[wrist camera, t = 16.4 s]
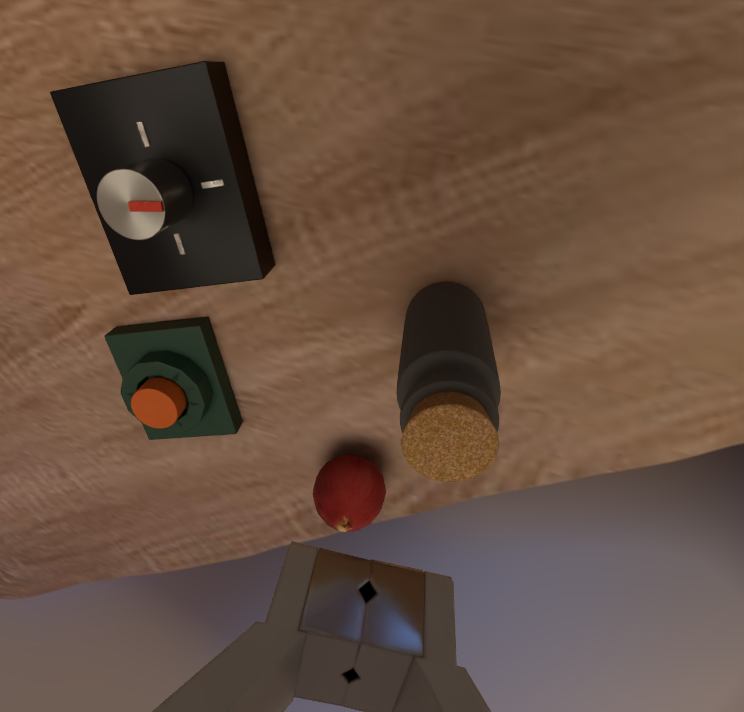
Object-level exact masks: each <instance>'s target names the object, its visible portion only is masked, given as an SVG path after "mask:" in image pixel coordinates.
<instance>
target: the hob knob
mask: <svg viewBox="0 0 744 712" xmlns="http://www.w3.org/2000/svg"><path fill="white" fill-rule="evenodd" d="M97 203H98V207H99V210H100V212H101V215H102V216H103V218H104V220H105V221H106V222H107V224H108V225H109V226H110V227H111V228H112V229H113V230H114V231H116V232H117V233H119V234H120V235H122V236H124V237H126V238H129V239H134V240H145V239H149V238H151V237H153V236H155V235H157V234H158V233H160V232H162V231H164V230H165V229H167V228H169V227H171V226H172V225H174V224H176V223H177V222H179V221H181V220H183V219H184V218H185V217H186V216H187V215H188V214H189V212H190V210H191V208H192V205H193V191H192V187H191V184H190V182H189V180H188V178H187V176H186V175H185V174H184V172H183V171H182V170H181V169H180V168H179V167H177V166H176V165H175V164H173V163H171V162H169V161H167V160H164V159H158V158H153V159H148V160H145V161H141V162H138V163H135V164H131V165H128V166H125V167H122V168H118V169H115V170H112V171H110V172H108V173H107V174H106V175H105V176H104V177H103V178H102V179H101V181H100V183H99V185H98V189H97Z"/></svg>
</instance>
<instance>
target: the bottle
mask: <svg viewBox="0 0 744 712" xmlns="http://www.w3.org/2000/svg"><path fill="white" fill-rule="evenodd" d="M500 394H501V391H500V382H499V377H498V371H497V366H496V361H495V356H494V351H493V346H492V341H491V336H490V332H489V327H488V323H487V318H486V314H485V310H484V307H483V305H482V303H481V301H480V299H479V298H478V297H477V296H476V295H475V294H474V293H473V292H472V291H471V290H469V289H468V288H466V287H464V286H462V285H459V284H455V283H437V284H433V285H430V286H428V287H426V288H424V289H423V290H421V291H420V292H419V293H418V294H417V295H416V296H415V297H414V298H413V299H412V301H411V303H410V304H409V307H408V309H407V313H406V318H405V324H404V332H403V340H402V347H401V355H400V364H399V372H398V381H397V401H398V404H399V408H400V410H401V413H400V425H401V430H402V433H403V434H402V439H401V445H402V450H403V453H404V456H405V458H406V460H407V461H408V463H409V464H410V465H411V466H412V467H413V468H414V469H415V470H416V471H417V472H419V473H420V474H422V475H424V476H426V477H428V478H431V479H434V480H438V481H443V482H459V481H464V480H468V479H471V478H473V477H475V476H477V475H479V474H481V473H483V472H484V471H485V470H486V469H488V468H489V466H490V465H491V464H492V463H493V461H494V460H495V458H496V456H497V453H498V449H499V438H498V434H497V432H498V428H499V413H498V406H499V402H500Z"/></svg>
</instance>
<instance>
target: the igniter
mask: <svg viewBox="0 0 744 712" xmlns="http://www.w3.org/2000/svg"><path fill="white" fill-rule="evenodd" d="M105 339H106V341H107V344H108V346H109V348H110V351H111V353H112V355H113V357H114V360H115V362H116V364H117V367H118V369H119V371H120V374H121V376H122V378H123V381H122V387H121V395H122V397H123V400H124V402H125V404H126V406H127V409H128V411H129V412H130V413H131V414H133V415H134V416H135V414H134V413H133V411H132V408H131V399H132V396H133V395H134V393H135V392H136V391H137V390H138V389H139V388H140V387H141V386H142V385H143V384H144V383H145V382H146V381H147V380H149V379H151V378H155V377H162V378H166V379H169V380H171V381H173V382H175V383H176V384H177V385H178V386H179V387H180V388H181V389H182V390H183V392H184V394H185V396H186V407H185V409H184V411H183V412H182V413H181V415H180V416H179V417H178V419H177V420H176V421H175V423H174V424H173V425H171V426H169V427H167V428H153V427H150V426H148V425H146V424H144V423H142V424H143V426H144V429H145V431H146V433H147V436H148V438H149V440H154V439H168V438H183V437H198V436H213V435H227V434H236V433H237V432H238V430H239V428H240V426H241V424H242V419H241V416H240V413H239V410H238V407H237V404H236V401H235V398H234V395H233V392H232V388H231V385H230V382H229V379H228V376H227V373H226V370H225V367H224V364H223V361H222V358H221V355H220V352H219V349H218V346H217V343H216V340H215V337H214V334H213V331H212V328H211V324H210V321H209V318H208V317H203V318H193V319H184V320H175V321H166V322H157V323H147V324H138V325H129V326H120V327H115V328H114V329H112V330H111V331H110V332H109V333H107V334H106V335H105ZM135 417H136V416H135ZM136 418H137V417H136ZM137 419H138V418H137ZM138 420H139V419H138ZM139 421H140V420H139ZM140 422H141V421H140Z"/></svg>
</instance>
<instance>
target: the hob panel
mask: <svg viewBox="0 0 744 712" xmlns="http://www.w3.org/2000/svg"><path fill="white" fill-rule="evenodd" d="M50 94H51V96H52V99H53V101H54V104H55V106H56V109H57V112H58V114H59V117H60V119H61V122H62V124H63V127H64V129H65V132H66V134H67V137H68V139H69V142H70V144H71V147H72V150H73V152H74V155H75V157H76V160H77V162H78V165H79V167H80V170H81V172H82V175H83V177H84V180H85V183H86V185H87V188H88V190H89V193H90V195H91V198H92V200H93V203H94V205H95V208H96V210H97V213H98V216H99V218H100V221H101V223H102V226H103V228H104V231H105V233H106V236H107V238H108V241H109V243H110V246H111V249H112V251H113V254H114V256H115V259H116V261H117V264H118V266H119V269H120V271H121V274H122V276H123V279H124V281H125V284H126V287H127V289H128V292H129V294H130V295H134V294H143V293H151V292H159V291H168V290H176V289H184V288H193V287H201V286H209V285H218V284H226V283H234V282H243V281H251V280H260V279H264V278H265V277H266V275H267V274H268V273H269V272H270V271H271V269H272V268H273V267H274V266H275V262H274V258H273V254H272V250H271V246H270V242H269V238H268V234H267V230H266V226H265V222H264V218H263V214H262V210H261V206H260V202H259V198H258V194H257V190H256V186H255V182H254V178H253V174H252V170H251V166H250V162H249V159H248V155H247V151H246V147H245V143H244V139H243V135H242V131H241V127H240V123H239V119H238V115H237V111H236V107H235V103H234V99H233V95H232V91H231V87H230V83H229V79H228V75H227V71H226V67H225V63H224V62H212V61H203V62H198V63H193V64H188V65H183V66H178V67H173V68H168V69H163V70H158V71H153V72H148V73H143V74H138V75H132V76H127V77H122V78H117V79H112V80H107V81H102V82H97V83H92V84H87V85H82V86H77V87H72V88H67V89H62V90H57V91H52V92H50ZM153 158H158V159H164V160H167V161H169V162H171V163H173V164H175V165H176V166H177V167H179V168H180V169H181V170H182V171H183V172H184V174H185V175H186V176H187V178H188V180H189V182H190V184H191V187H192V191H193V205H192V208H191V210H190V212H189V214H188V215H187V216H186V217H185V218H184V219H183V220H181V221H179V222H177V223H176V224H174V225H172V226H171V227H169V228H167V229H165V230H164V231H162V232H160V233H158V234H157V235H155V236H153V237H151V238H149V239H145V240H134V239H129V238H126V237H124V236H122V235H120V234H119V233H117V232H116V231H114V230H113V229H112V228H111V227H110V226H109V225H108V224H107V222H106V221H105V220H104V218H103V216H102V215H101V212H100V210H99V207H98V203H97V189H98V185H99V183H100V181H101V179H102V178H103V177H104V176H105V175H106V174H107V173H108V172H110V171H112V170H115V169H118V168H122V167H125V166H128V165H131V164H135V163H138V162H141V161H145V160H148V159H153Z"/></svg>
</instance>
